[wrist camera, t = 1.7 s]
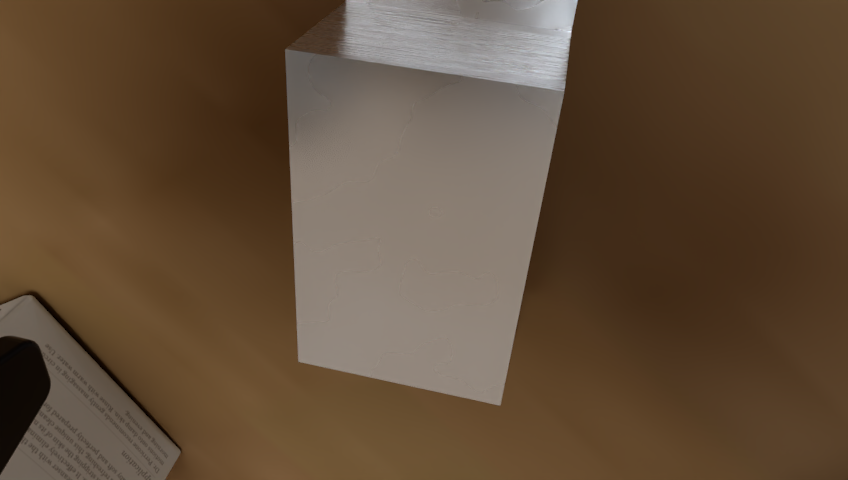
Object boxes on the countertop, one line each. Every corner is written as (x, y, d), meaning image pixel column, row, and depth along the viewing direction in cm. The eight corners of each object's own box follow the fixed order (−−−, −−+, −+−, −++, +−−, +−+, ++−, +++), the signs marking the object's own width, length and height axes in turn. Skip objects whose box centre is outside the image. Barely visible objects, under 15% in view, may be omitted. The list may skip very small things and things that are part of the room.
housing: (510, 334, 18) (490, 451, 15) (352, 302, 19) (300, 408, 16) (588, -60, 13) (585, -11, 9) (359, -88, 13) (280, -50, 10)
